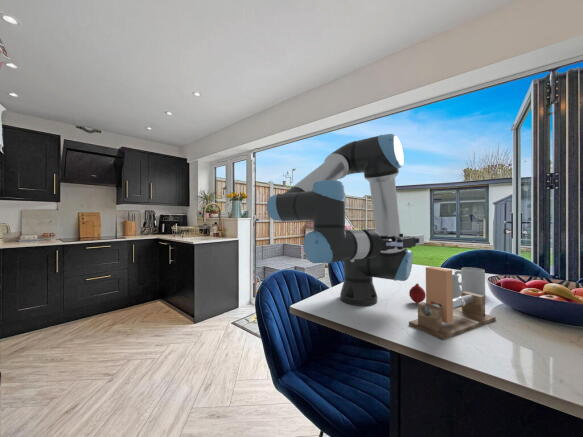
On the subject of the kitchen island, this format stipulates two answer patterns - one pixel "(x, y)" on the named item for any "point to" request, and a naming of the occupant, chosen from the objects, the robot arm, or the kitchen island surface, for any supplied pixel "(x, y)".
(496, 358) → the kitchen island surface
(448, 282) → the upright wooden plank
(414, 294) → the onion
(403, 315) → the kitchen island surface
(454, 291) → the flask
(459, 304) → the pipe
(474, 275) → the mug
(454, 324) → the rig board
